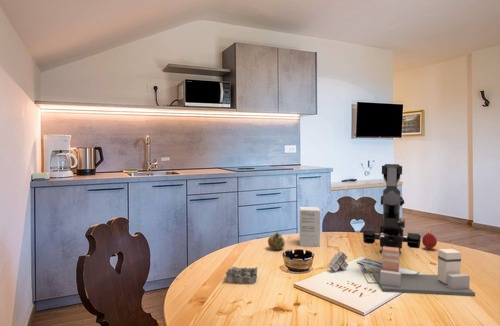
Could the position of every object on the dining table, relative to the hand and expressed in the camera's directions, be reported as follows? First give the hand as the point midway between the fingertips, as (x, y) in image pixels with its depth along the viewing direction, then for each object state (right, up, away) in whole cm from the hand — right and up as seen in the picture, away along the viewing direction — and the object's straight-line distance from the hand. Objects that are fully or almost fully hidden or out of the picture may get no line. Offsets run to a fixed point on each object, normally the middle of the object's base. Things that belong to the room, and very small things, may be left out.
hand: (390, 260), depth 118 cm
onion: (+32, -5, +35) cm, 48 cm away
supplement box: (-20, -5, +45) cm, 49 cm away
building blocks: (-15, -7, +11) cm, 20 cm away
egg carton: (-51, -7, +1) cm, 51 cm away
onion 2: (-36, -6, +36) cm, 51 cm away
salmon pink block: (-1, -6, -2) cm, 6 cm away
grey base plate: (+8, -7, -4) cm, 11 cm away
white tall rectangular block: (+17, -6, -5) cm, 19 cm away
